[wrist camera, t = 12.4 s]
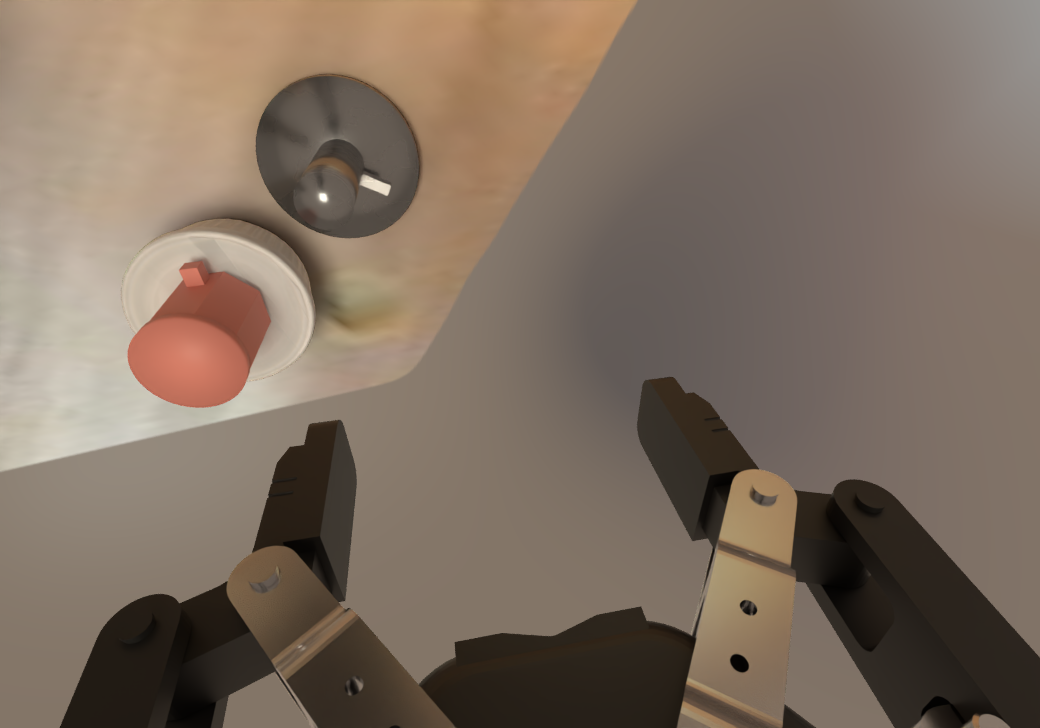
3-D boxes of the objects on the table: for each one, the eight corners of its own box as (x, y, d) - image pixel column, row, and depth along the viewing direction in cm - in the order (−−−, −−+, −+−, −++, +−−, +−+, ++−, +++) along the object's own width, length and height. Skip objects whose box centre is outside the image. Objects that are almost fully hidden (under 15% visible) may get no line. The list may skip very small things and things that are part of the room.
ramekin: (347, 249, 38) (339, 281, 34) (293, 364, 43) (280, 404, 39) (176, 171, 34) (143, 196, 29) (137, 309, 38) (102, 348, 34)
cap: (146, 263, 31) (96, 313, 26) (247, 250, 32) (216, 297, 27) (199, 366, 36) (165, 426, 31) (287, 354, 36) (267, 410, 31)
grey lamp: (244, 199, 35) (201, 250, 28) (280, 41, 31) (240, 54, 23) (390, 253, 39) (385, 311, 32) (441, 120, 34) (449, 152, 27)
